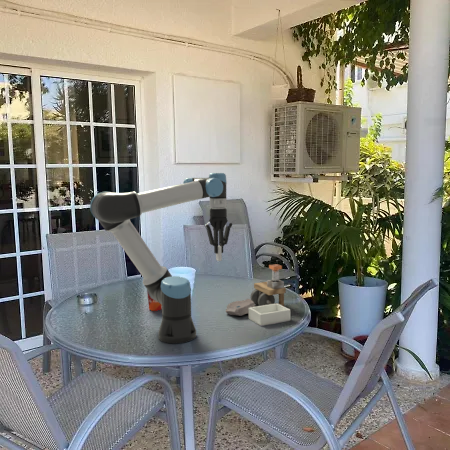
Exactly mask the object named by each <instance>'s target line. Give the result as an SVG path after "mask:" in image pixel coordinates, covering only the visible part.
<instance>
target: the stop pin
mask: <svg viewBox="0 0 450 450" xmlns="http://www.w3.org/2000/svg"><path fill="white" fill-rule="evenodd" d="M268 269H270V270H271V280H272V282H279V280H280V270H283V265H280V264H278V263H277V264H276V263H275V264H268Z"/></svg>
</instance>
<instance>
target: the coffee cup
mask: <svg viewBox="0 0 450 450" xmlns="http://www.w3.org/2000/svg"><path fill="white" fill-rule="evenodd" d="M146 292H147V294H146V295H147V301H148V309H149V311H150V310H151V311H152V312H158V310H159V311H162V305H161V304H160V303H159V302H157V301H155V300H154V299H152V298H151V297H150V295H149V294H148V291H147V290H146Z"/></svg>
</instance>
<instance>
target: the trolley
mask: <svg viewBox="0 0 450 450" xmlns="http://www.w3.org/2000/svg"><path fill="white" fill-rule="evenodd" d="M286 290H287V288H286V287H285V281H283V280H281V279H279V282H272V279H267V280H266V281H261V282H255V283H253V291H251V293H250V298H249V299H250V300H252V301H253V302H254V303H255V306H256V307H257V306H263V305H269V304H276V298H275V296H276V295H278V304H280V305H282V306H284V307H285V294H286V292H287V291H286Z"/></svg>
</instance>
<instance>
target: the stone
mask: <svg viewBox="0 0 450 450" xmlns="http://www.w3.org/2000/svg"><path fill="white" fill-rule="evenodd" d="M251 307H257V305H255V303H254V302H253V301H252V300H251V298H246V299H245V300H236V301H231V302H230V303H228V304H227V305H226V309H225V313H226V314H228V315H229V316H239V317H241V316H244V315H246V314H248V315H249V311H248V308H251Z"/></svg>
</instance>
